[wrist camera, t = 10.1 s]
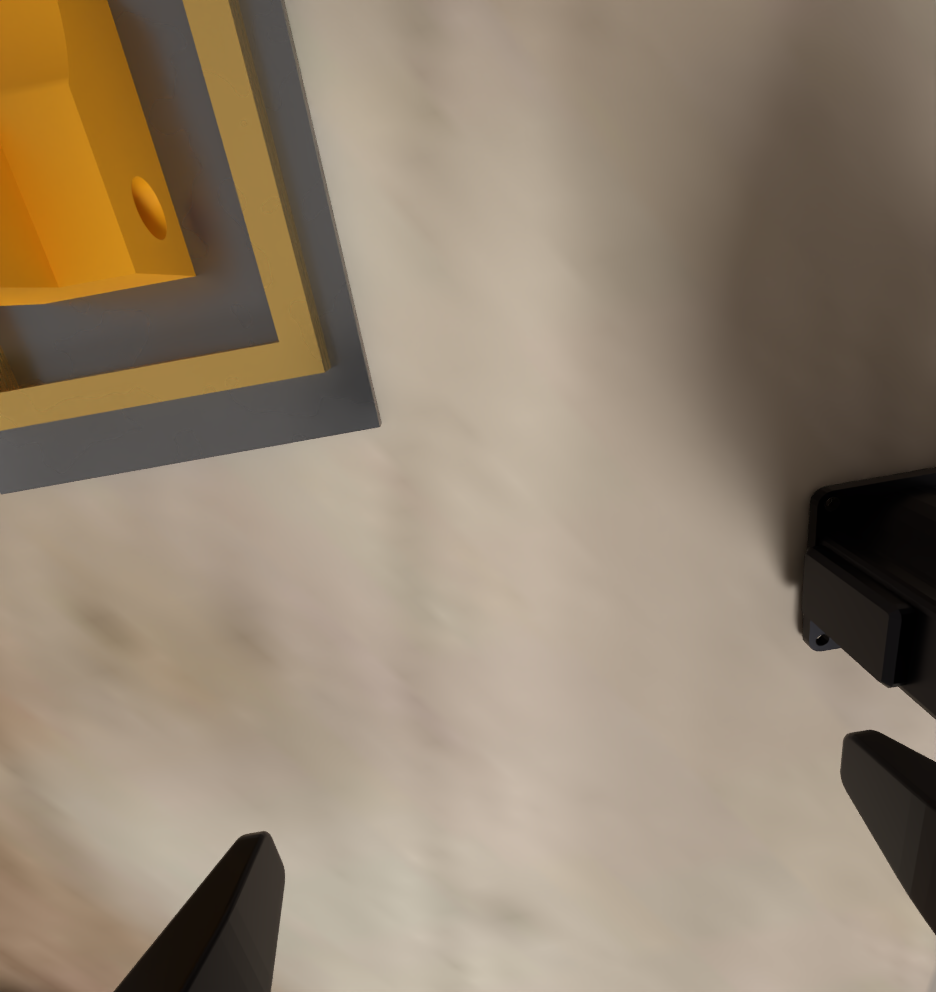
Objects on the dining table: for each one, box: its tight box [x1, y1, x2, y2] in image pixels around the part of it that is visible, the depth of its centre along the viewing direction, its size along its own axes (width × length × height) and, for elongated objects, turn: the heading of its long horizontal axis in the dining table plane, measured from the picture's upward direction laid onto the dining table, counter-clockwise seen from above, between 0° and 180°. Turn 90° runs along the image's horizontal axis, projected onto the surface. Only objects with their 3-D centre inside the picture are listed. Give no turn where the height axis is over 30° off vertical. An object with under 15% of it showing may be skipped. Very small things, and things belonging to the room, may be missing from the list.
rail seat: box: [0, 0, 381, 494], centre depth 13 cm, size 12×22×2 cm, turn 10°
